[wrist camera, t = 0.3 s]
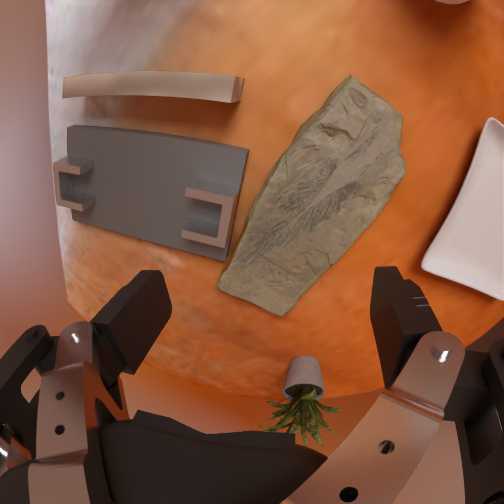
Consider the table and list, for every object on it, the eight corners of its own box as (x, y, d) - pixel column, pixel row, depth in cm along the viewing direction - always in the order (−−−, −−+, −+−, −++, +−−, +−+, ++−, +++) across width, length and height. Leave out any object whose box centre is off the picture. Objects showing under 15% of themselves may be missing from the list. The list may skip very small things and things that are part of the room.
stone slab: (435, 139, 22) (287, 330, 37) (419, 132, 26) (288, 310, 41) (336, 64, 20) (203, 293, 35) (329, 68, 24) (211, 274, 39)
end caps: (67, 155, 30) (52, 163, 27) (239, 187, 30) (234, 198, 27) (69, 195, 33) (56, 204, 31) (230, 234, 33) (224, 248, 31)
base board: (74, 125, 29) (67, 127, 28) (249, 149, 29) (247, 152, 28) (78, 215, 37) (72, 220, 36) (227, 255, 37) (225, 261, 35)
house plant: (262, 331, 44) (246, 425, 30) (349, 335, 42) (356, 429, 28) (263, 378, 51) (251, 453, 38) (333, 381, 49) (333, 457, 36)
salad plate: (474, 108, 21) (490, 113, 18) (553, 182, 21) (566, 191, 19) (409, 254, 33) (417, 270, 30) (496, 289, 33) (504, 302, 30)
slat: (89, 74, 25) (63, 77, 21) (245, 78, 25) (235, 76, 21) (88, 93, 27) (62, 98, 23) (241, 100, 26) (230, 102, 22)
